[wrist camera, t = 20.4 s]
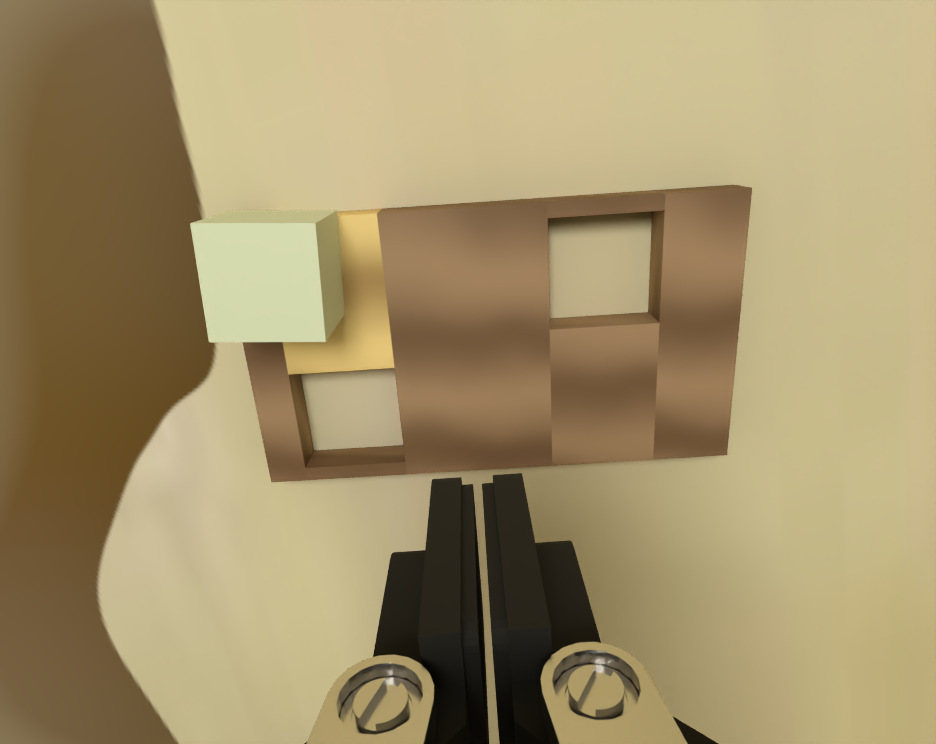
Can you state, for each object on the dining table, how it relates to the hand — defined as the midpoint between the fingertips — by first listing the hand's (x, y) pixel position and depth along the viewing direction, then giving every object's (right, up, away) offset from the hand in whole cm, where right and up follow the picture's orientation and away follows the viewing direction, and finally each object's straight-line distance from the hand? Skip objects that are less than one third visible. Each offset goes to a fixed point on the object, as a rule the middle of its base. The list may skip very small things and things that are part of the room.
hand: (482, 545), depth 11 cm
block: (-9, +8, +18) cm, 22 cm away
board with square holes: (+1, +5, +22) cm, 22 cm away
